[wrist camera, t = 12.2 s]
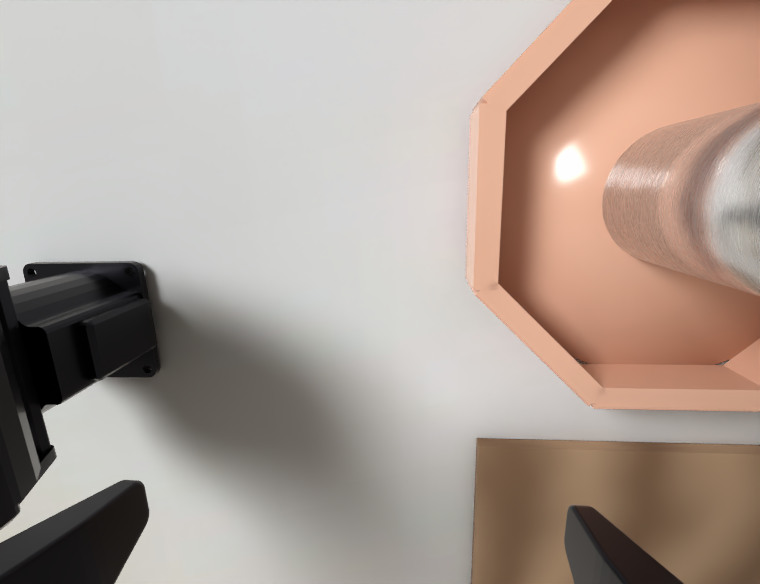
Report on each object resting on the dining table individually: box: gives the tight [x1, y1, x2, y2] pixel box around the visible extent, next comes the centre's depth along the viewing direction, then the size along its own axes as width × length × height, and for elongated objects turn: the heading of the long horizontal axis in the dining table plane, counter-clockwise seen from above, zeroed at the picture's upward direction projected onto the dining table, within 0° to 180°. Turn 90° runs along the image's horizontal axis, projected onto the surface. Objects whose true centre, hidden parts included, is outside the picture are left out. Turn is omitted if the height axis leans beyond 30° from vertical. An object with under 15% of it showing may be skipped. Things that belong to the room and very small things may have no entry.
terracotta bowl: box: [466, 0, 760, 412], centre depth 17 cm, size 18×18×4 cm
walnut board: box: [471, 438, 760, 584], centre depth 23 cm, size 16×12×1 cm
